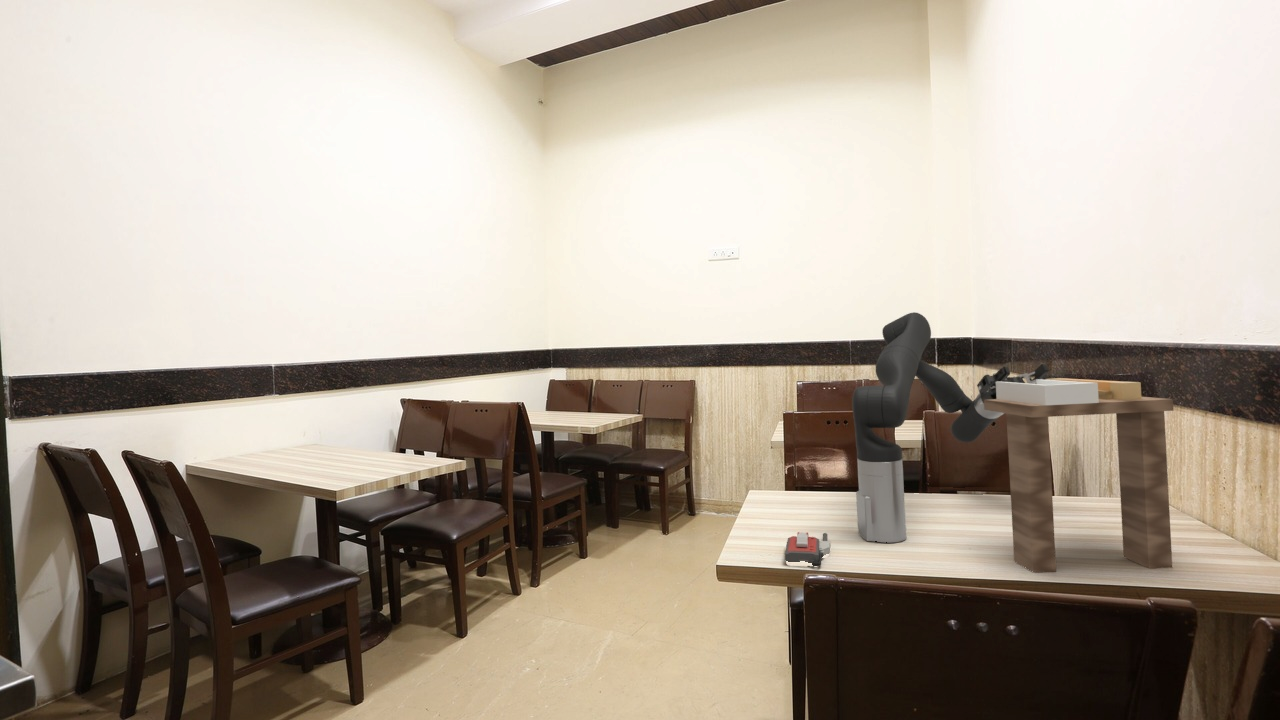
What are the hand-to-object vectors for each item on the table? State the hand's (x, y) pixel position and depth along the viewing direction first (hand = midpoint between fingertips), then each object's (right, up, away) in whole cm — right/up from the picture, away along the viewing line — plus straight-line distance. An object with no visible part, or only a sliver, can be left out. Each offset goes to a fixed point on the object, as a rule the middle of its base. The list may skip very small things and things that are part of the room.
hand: (1026, 368), depth 140 cm
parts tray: (-13, -6, -26) cm, 29 cm away
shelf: (-6, -35, -26) cm, 44 cm away
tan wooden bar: (-1, -5, -21) cm, 21 cm away
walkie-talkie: (-54, -39, -14) cm, 68 cm away
